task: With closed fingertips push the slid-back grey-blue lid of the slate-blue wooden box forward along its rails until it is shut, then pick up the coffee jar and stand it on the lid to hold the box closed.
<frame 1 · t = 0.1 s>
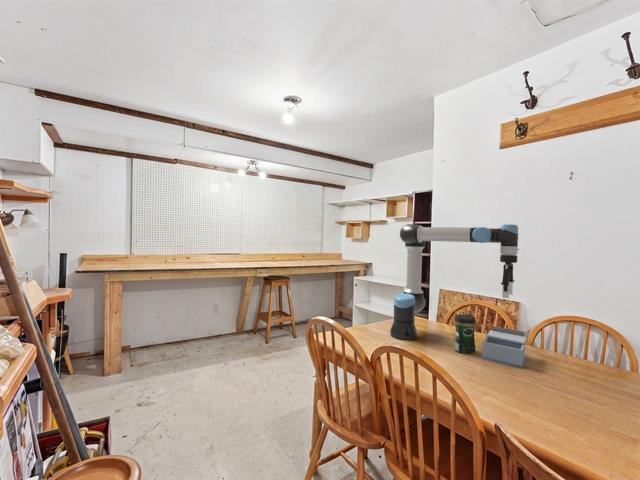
hand: (507, 296, 157), 28 cm above the table, fingers open, 13 cm apart
coffee jar: (464, 351, 155), on the table
box: (503, 359, 145), on the table
lid: (506, 334, 152), point 10 cm above the table, slide at 9.0 cm
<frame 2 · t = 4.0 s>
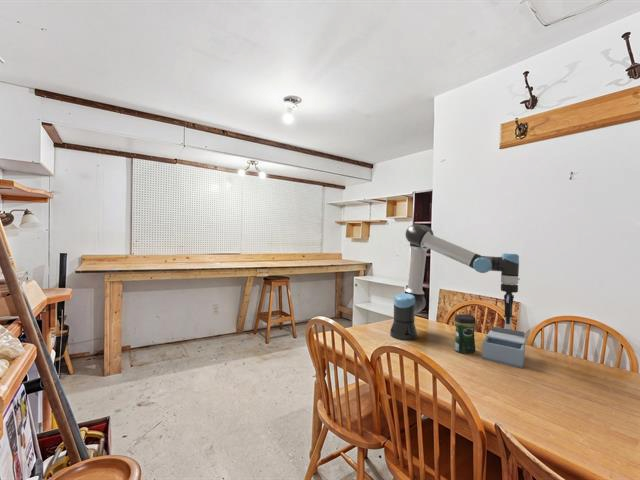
hand: (507, 329, 157), 11 cm above the table, fingers closed
lid: (506, 334, 152), point 10 cm above the table, slide at 8.2 cm, touching gripper
everything else where it was.
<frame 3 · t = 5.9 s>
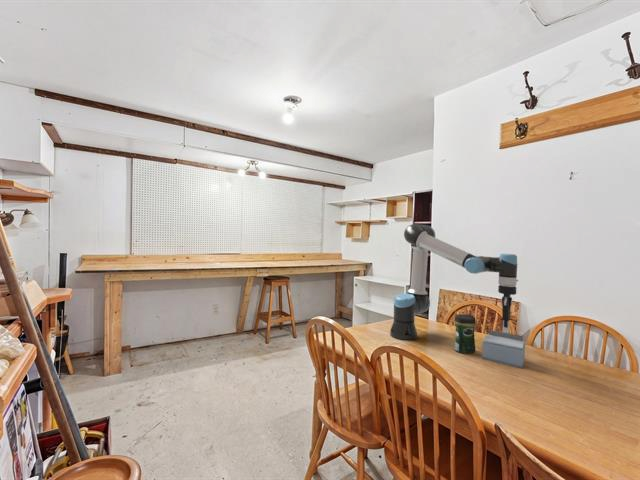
hand: (505, 333, 150), 11 cm above the table, fingers closed
lid: (503, 338, 145), point 10 cm above the table, slide at 0.2 cm, touching gripper
everything else where it was.
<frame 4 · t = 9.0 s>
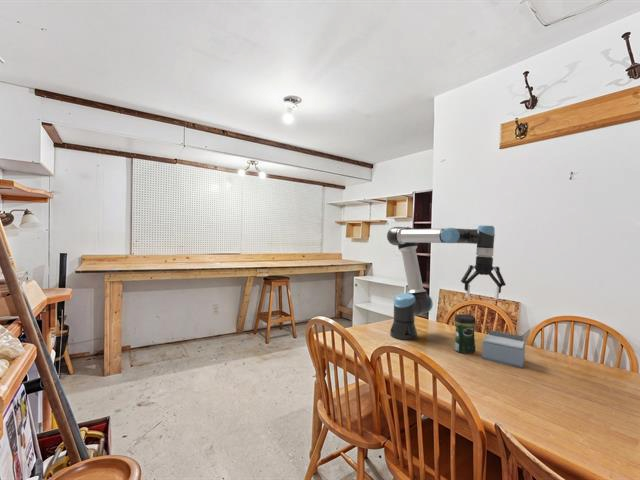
hand: (481, 298, 155), 27 cm above the table, fingers open, 13 cm apart
lid: (503, 338, 145), point 10 cm above the table, slide at 0.1 cm
everything else where it was.
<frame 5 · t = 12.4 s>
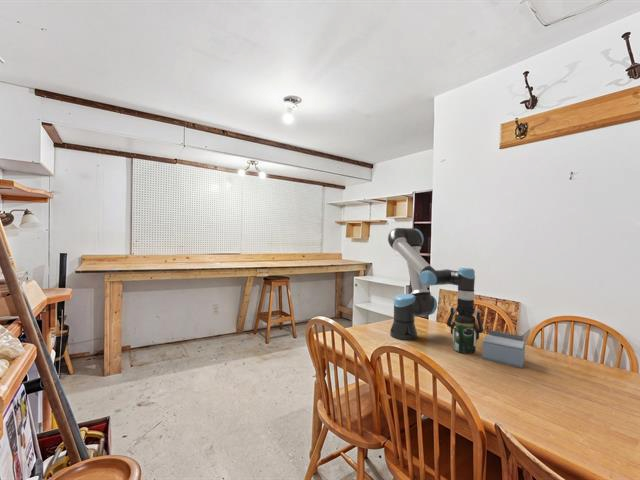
hand: (464, 343, 155), 4 cm above the table, fingers closed on coffee jar, 9 cm apart
coffee jar: (464, 351, 155), on the table, touching gripper
everything else where it was.
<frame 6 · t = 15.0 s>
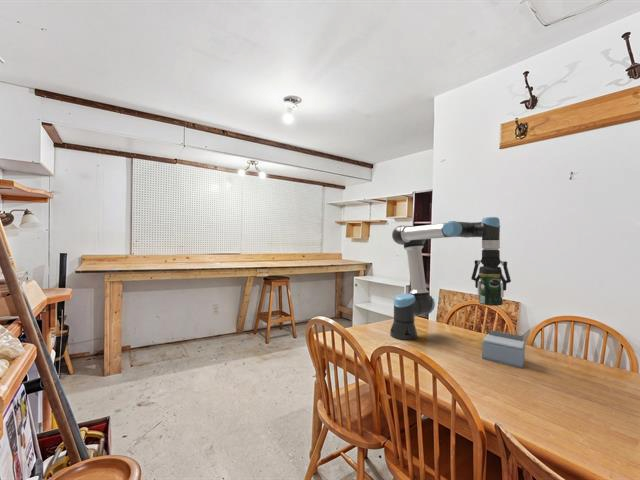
hand: (490, 295, 148), 30 cm above the table, fingers closed on coffee jar, 9 cm apart
coffee jar: (490, 305, 148), point 25 cm above the table, touching gripper
everything else where it was.
when the fingers open (17 cm above the table, at t = 17.9 s): coffee jar drops 4 cm, resting on lid.
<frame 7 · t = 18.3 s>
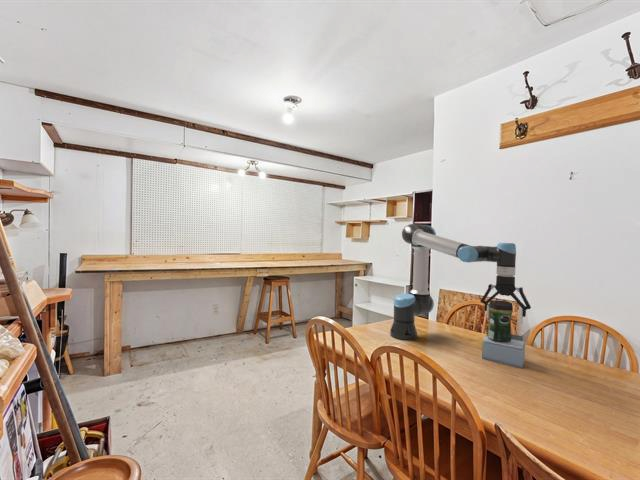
hand: (504, 320, 144), 19 cm above the table, fingers open, 13 cm apart
coffee jar: (498, 340, 146), point 9 cm above the table, touching gripper, lid
lid: (503, 338, 145), point 10 cm above the table, slide at 0.1 cm, touching coffee jar
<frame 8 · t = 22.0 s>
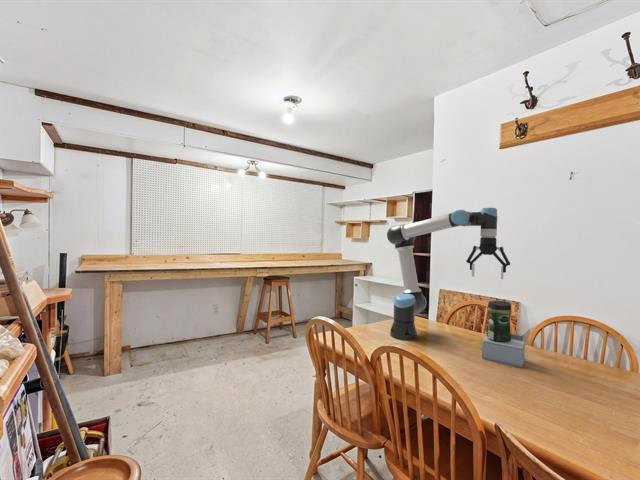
hand: (487, 277, 161), 37 cm above the table, fingers open, 13 cm apart
coffee jar: (498, 340, 146), point 9 cm above the table, touching lid
everything else where it was.
at the end: lid slide at 0.2 cm; coffee jar inside the target area on the box (2.1 cm from its centre), point 8.9 cm above the box's base; coffee jar tilted 0° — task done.
